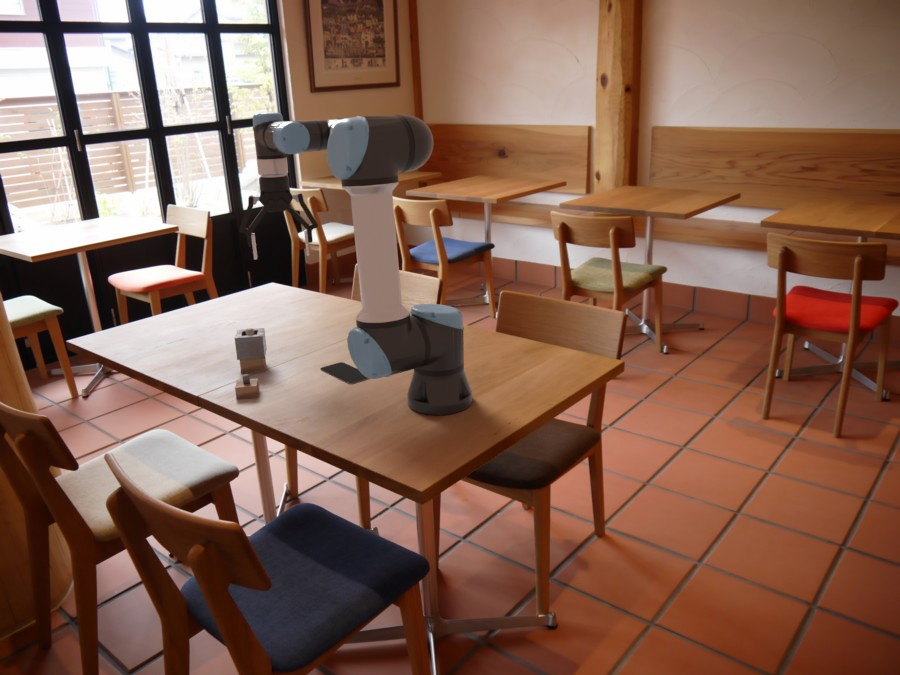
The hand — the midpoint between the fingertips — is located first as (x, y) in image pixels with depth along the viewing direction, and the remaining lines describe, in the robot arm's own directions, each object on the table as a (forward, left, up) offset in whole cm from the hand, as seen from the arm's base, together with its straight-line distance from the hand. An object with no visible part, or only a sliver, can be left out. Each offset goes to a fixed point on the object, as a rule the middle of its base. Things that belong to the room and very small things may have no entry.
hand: (282, 256), depth 197 cm
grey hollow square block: (-7, +10, -24) cm, 27 cm away
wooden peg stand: (-7, +10, -28) cm, 31 cm away
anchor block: (-25, +10, -28) cm, 39 cm away
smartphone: (-16, -14, -29) cm, 36 cm away
